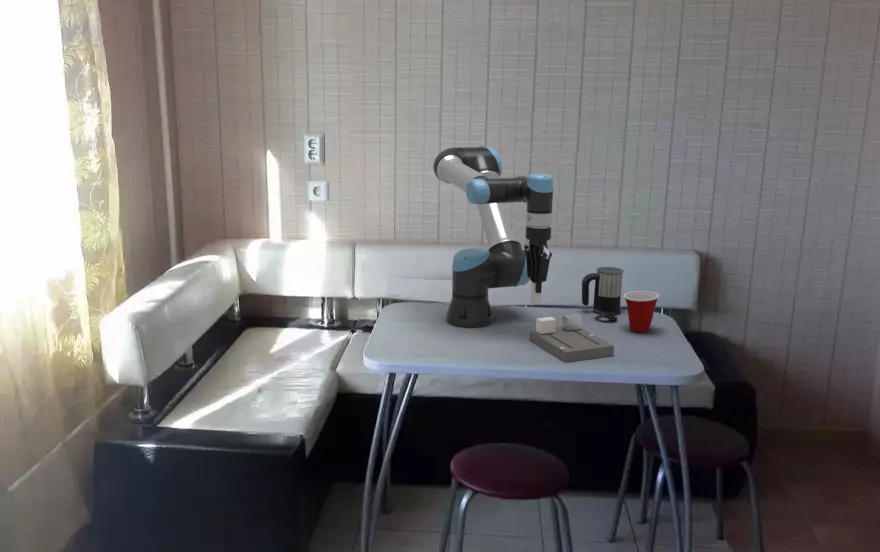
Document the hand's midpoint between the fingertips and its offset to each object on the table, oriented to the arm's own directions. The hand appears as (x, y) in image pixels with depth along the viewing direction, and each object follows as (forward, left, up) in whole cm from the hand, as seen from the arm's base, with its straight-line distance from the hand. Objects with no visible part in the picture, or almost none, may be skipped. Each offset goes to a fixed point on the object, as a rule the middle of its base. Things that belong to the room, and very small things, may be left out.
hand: (535, 302), depth 251 cm
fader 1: (+7, 0, -7) cm, 10 cm away
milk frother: (-11, +34, -11) cm, 37 cm away
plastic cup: (+7, +34, -11) cm, 36 cm away
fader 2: (+7, +9, -7) cm, 13 cm away
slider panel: (+14, +5, -11) cm, 18 cm away
